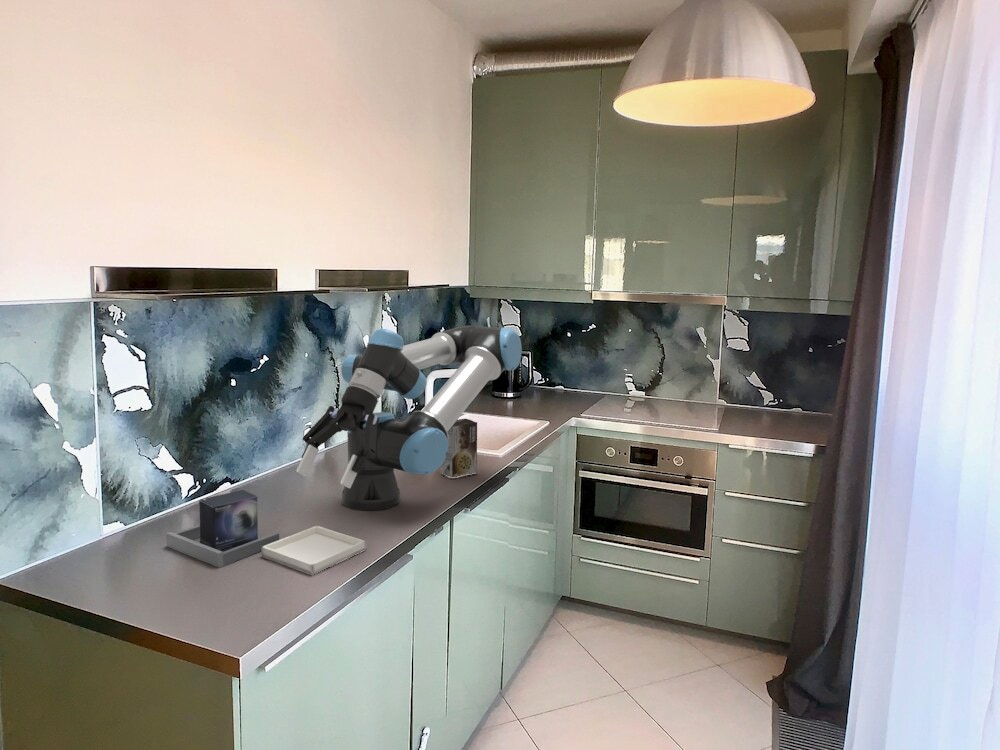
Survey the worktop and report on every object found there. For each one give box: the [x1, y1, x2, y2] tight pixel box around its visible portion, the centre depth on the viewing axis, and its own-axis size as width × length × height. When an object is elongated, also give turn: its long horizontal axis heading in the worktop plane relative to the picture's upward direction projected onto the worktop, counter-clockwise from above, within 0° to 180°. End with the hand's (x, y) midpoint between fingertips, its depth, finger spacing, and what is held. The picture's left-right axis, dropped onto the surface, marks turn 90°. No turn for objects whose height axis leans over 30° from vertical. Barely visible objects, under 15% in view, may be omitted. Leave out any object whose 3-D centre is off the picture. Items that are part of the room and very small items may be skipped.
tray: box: [260, 525, 367, 576], centre depth 148 cm, size 15×15×2 cm
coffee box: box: [440, 418, 478, 477], centre depth 206 cm, size 9×6×16 cm
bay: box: [165, 524, 280, 568], centre depth 151 cm, size 15×18×3 cm
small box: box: [198, 489, 259, 552], centre depth 152 cm, size 11×6×10 cm, turn 139°
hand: (322, 480), depth 149 cm, fingers open, 13 cm apart
